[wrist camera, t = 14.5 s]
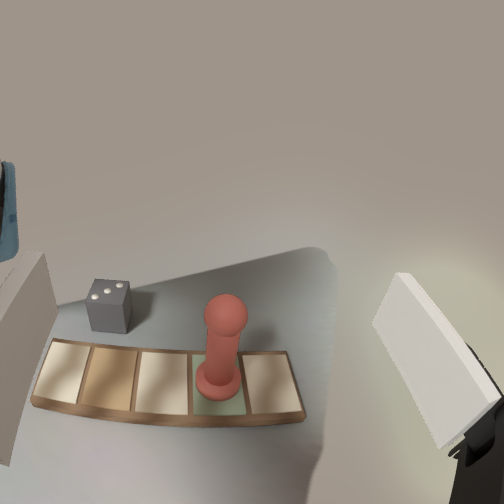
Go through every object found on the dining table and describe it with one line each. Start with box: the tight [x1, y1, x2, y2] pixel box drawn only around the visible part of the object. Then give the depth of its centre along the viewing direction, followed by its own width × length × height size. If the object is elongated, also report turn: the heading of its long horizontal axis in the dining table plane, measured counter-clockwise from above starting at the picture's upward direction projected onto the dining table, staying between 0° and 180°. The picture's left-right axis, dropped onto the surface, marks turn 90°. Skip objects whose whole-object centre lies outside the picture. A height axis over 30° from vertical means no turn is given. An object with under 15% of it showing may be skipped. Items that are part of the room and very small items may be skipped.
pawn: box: [196, 294, 248, 401], centre depth 29 cm, size 5×5×12 cm
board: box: [30, 338, 306, 427], centre depth 31 cm, size 30×10×1 cm, turn 98°
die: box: [85, 279, 132, 334], centre depth 38 cm, size 5×5×5 cm
